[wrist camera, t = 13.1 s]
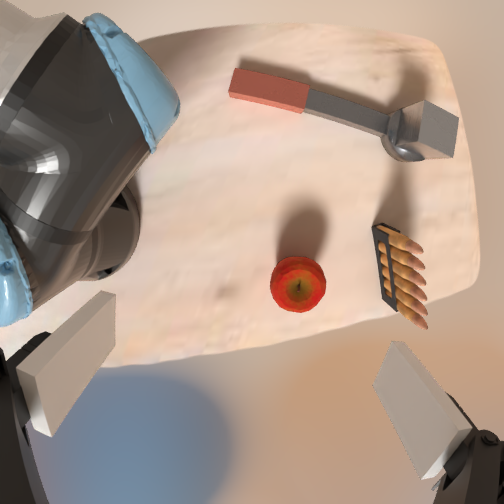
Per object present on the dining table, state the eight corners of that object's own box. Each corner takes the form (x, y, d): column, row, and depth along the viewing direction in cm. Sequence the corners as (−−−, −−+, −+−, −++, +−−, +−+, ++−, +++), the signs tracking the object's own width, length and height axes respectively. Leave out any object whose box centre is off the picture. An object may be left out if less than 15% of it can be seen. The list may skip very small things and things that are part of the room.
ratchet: (226, 111, 36) (220, 97, 29) (239, 61, 34) (237, 41, 28) (419, 169, 37) (444, 168, 30) (427, 122, 35) (453, 116, 29)
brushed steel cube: (394, 145, 33) (417, 141, 27) (401, 109, 32) (424, 99, 26) (426, 159, 34) (452, 158, 28) (433, 124, 32) (458, 117, 27)
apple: (309, 241, 39) (321, 255, 32) (321, 284, 40) (335, 307, 33) (261, 256, 40) (263, 274, 32) (276, 299, 41) (280, 325, 34)
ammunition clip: (371, 226, 39) (413, 245, 27) (383, 222, 39) (429, 240, 27) (382, 299, 41) (420, 338, 29) (393, 295, 41) (434, 333, 29)
